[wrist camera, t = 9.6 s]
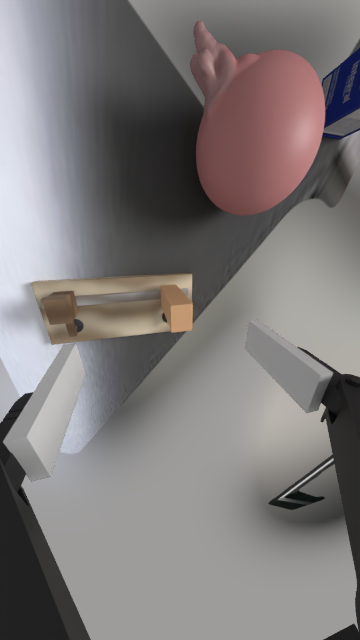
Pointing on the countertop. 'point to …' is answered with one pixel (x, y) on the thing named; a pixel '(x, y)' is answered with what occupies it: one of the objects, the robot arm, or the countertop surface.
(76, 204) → the countertop surface
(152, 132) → the countertop surface
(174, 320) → the orange wooden block
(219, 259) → the countertop surface
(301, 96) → the balloon
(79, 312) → the wooden slotted board
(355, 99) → the milk carton
